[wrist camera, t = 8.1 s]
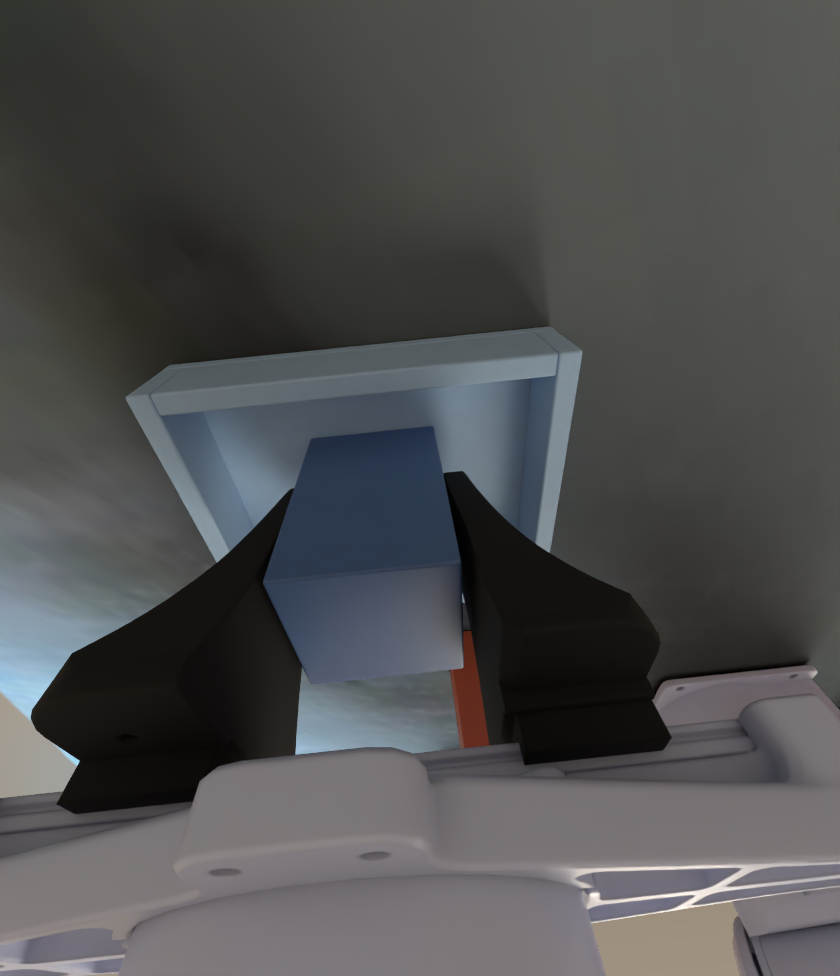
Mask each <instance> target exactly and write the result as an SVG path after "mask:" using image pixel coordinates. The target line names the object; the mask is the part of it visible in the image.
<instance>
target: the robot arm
mask: <svg viewBox="0 0 840 976" xmlns="http://www.w3.org/2000/svg"><path fill="white" fill-rule="evenodd" d="M443 474H444V480H445V485H446V489H447V494H448V499H449V504H450V509H451V514H452V519H453V523H454V528H455V533H456V538H457V543H458V548H459V553H460V558H461V566H462V593H463V597H464V601H465V604H466V608H467V613H468V617H469V622H470V628H471V634H472V640H473V646H474V652H475V658H476V664H477V670H478V676H479V682H480V688H481V695H482V701H483V707H484V714H485V720H486V727H487V734H488V740H489V746H480V747H471V748H461V749H452V750H443V751H434V752H424V753H415V754H412V753H410V752H406V751H403V750H399V749H395V748H392V747H365V748H355V749H346V750H337V751H328V752H318V753H309V754H300V755H295V749H296V731H297V718H298V704H299V692H300V682H301V671H302V664H301V662H300V660H299V658H298V656H297V654H296V652H295V650H294V648H293V646H292V644H291V641H290V639H289V637H288V635H287V633H286V631H285V629H284V627H283V625H282V623H281V621H280V619H279V616H278V614H277V612H276V610H275V608H274V606H273V604H272V602H271V600H270V598H269V596H268V593H267V591H266V589H265V587H264V585H263V580H264V577H265V574H266V571H267V568H268V565H269V562H270V559H271V556H272V553H273V550H274V547H275V544H276V541H277V538H278V535H279V532H280V529H281V526H282V523H283V520H284V517H285V514H286V511H287V508H288V505H289V502H290V499H291V496H292V493H293V490H294V488H292V489H290V490H289V491H288V492H287V493H286V494H285V495H284V496H283V497H282V498H281V499H280V500H279V501H278V502H277V504H276V505H275V506H274V507H273V508H272V509H271V510H270V511H269V512H268V513H267V515H266V516H265V517H264V518H263V519H262V520H261V521H260V522H259V523H258V524H257V525H256V526H255V527H254V528H253V529H252V530H251V531H250V532H249V533H248V534H247V535H246V536H245V537H244V538H243V539H242V540H241V541H240V542H239V543H238V544H237V545H236V546H235V547H234V548H233V549H232V550H231V551H230V552H229V553H227V554H226V555H225V556H224V557H223V558H222V559H221V560H219V561H218V562H217V563H216V564H215V565H213V566H212V567H211V568H210V569H208V570H207V571H206V572H205V573H203V574H202V575H201V576H200V577H198V578H197V579H195V580H194V581H193V582H191V583H190V584H188V585H187V586H186V587H184V588H183V589H181V590H180V591H179V592H177V593H176V594H174V595H173V596H172V597H170V598H169V599H167V600H166V601H164V602H163V603H161V604H159V605H158V606H156V607H155V608H153V609H152V610H150V611H148V612H147V613H145V614H143V615H142V616H140V617H138V618H137V619H135V620H133V621H132V622H130V623H128V624H126V625H125V626H123V627H121V628H119V629H117V630H116V631H114V632H112V633H110V634H108V635H106V636H104V637H102V638H101V639H99V640H97V641H95V642H93V643H91V644H89V645H87V646H85V647H84V648H82V649H80V650H78V651H76V652H74V653H72V654H71V656H70V657H69V659H68V660H67V661H66V663H65V664H64V666H63V667H62V668H61V670H60V671H59V673H58V674H57V676H56V677H55V678H54V680H53V681H52V683H51V684H50V685H49V687H48V688H47V690H46V691H45V692H44V694H43V695H42V697H41V698H40V700H39V701H38V702H37V704H36V705H35V707H34V708H33V709H32V714H31V720H32V722H33V724H34V726H35V728H36V730H37V731H38V732H40V734H42V735H43V736H44V737H45V738H47V739H48V740H50V741H51V742H53V743H54V744H56V745H57V746H59V747H60V748H62V749H63V750H65V751H66V752H68V753H69V754H71V755H72V756H74V757H75V758H77V759H78V760H80V762H79V764H78V766H77V768H76V769H75V771H74V773H73V775H72V777H71V778H70V780H69V782H68V784H67V786H66V788H65V789H64V791H63V792H55V793H46V794H36V795H27V796H18V797H8V798H0V976H83V975H97V974H112V973H119V975H118V976H606V974H605V970H604V966H603V963H602V959H601V956H600V952H599V949H598V945H597V942H596V938H595V935H594V931H593V927H592V924H591V923H596V922H603V921H609V920H615V919H622V918H628V917H634V916H641V915H647V914H653V913H660V912H667V911H673V910H679V909H685V908H692V907H698V906H705V905H711V904H717V903H724V902H731V901H732V903H733V905H734V907H735V909H736V911H737V913H738V915H739V916H738V917H736V918H735V920H734V923H733V933H734V934H733V949H734V956H735V960H736V964H737V967H738V971H739V974H740V976H840V710H839V709H838V708H837V707H836V706H835V705H834V703H833V702H832V701H831V700H830V699H829V698H828V697H827V696H826V695H825V693H824V692H823V691H822V690H821V689H820V688H819V687H818V686H817V684H816V683H815V682H814V681H813V680H812V678H813V677H814V676H815V675H816V674H817V670H816V669H815V668H814V667H813V666H811V665H802V666H793V667H784V668H774V669H765V670H756V671H746V672H737V673H728V674H718V675H709V676H700V677H690V678H681V679H672V680H667V681H664V682H663V683H662V684H661V686H660V687H659V689H658V691H657V693H656V695H655V692H654V690H653V688H652V686H651V684H650V683H649V681H648V679H647V677H646V676H647V674H648V672H649V670H650V668H651V666H652V664H653V662H654V660H655V658H656V656H657V654H658V651H659V648H660V644H661V642H660V637H659V634H658V632H657V631H656V629H655V628H654V626H653V624H652V623H651V621H650V620H649V618H648V617H647V615H646V614H645V612H644V611H643V610H642V608H641V607H640V606H639V605H638V603H637V602H636V601H635V600H634V598H633V597H632V596H631V594H630V593H627V592H625V591H623V590H621V589H618V588H616V587H614V586H611V585H609V584H607V583H605V582H602V581H600V580H598V579H596V578H593V577H591V576H589V575H587V574H586V573H584V572H582V571H580V570H578V569H576V568H574V567H572V566H570V565H569V564H567V563H565V562H563V561H562V560H560V559H558V558H557V557H555V556H554V555H552V554H551V553H549V552H547V551H546V550H544V549H543V548H541V547H540V546H538V545H537V544H535V543H534V542H533V541H531V540H530V539H529V538H527V537H526V536H525V535H524V534H522V533H521V532H520V531H519V530H517V529H516V528H515V527H514V526H513V525H512V524H511V523H510V522H508V521H507V520H506V519H505V518H504V517H503V516H502V515H501V514H500V513H499V512H498V511H497V510H496V509H495V508H494V507H493V506H492V505H491V504H490V503H489V502H488V500H487V499H486V498H485V497H484V496H483V495H482V494H481V493H480V491H479V490H478V489H477V488H476V487H475V485H474V484H473V483H472V481H471V480H470V479H469V477H468V476H467V475H466V473H464V472H463V471H456V472H446V473H443ZM652 699H653V700H652Z"/></svg>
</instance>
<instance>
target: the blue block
mask: <svg viewBox="0 0 840 976" xmlns="http://www.w3.org/2000/svg"><path fill="white" fill-rule="evenodd" d="M263 585H264V587H265V589H266V591H267V593H268V596H269V598H270V600H271V602H272V604H273V606H274V608H275V610H276V612H277V614H278V616H279V619H280V621H281V623H282V625H283V627H284V629H285V631H286V633H287V635H288V637H289V639H290V641H291V644H292V646H293V648H294V650H295V652H296V654H297V656H298V658H299V660H300V662H301V664H302V667H303V669H304V671H305V673H306V675H307V677H308V679H309V681H310V683H311V684H322V683H331V682H340V681H350V680H359V679H368V678H378V677H387V676H397V675H406V674H415V673H425V672H434V671H443V670H453V669H462V668H463V667H464V644H463V605H462V566H461V558H460V553H459V548H458V543H457V538H456V533H455V528H454V523H453V519H452V514H451V509H450V504H449V499H448V494H447V489H446V485H445V480H444V475H443V470H442V465H441V460H440V455H439V450H438V446H437V441H436V436H435V431H434V427H433V426H429V427H419V428H410V429H400V430H390V431H381V432H371V433H361V434H351V435H342V436H332V437H322V438H313V439H311V440H310V443H309V446H308V449H307V452H306V455H305V458H304V461H303V464H302V467H301V470H300V473H299V476H298V479H297V482H296V485H295V488H294V490H293V493H292V496H291V499H290V502H289V505H288V508H287V511H286V514H285V517H284V520H283V523H282V526H281V529H280V532H279V535H278V538H277V541H276V544H275V547H274V550H273V553H272V556H271V559H270V562H269V565H268V568H267V571H266V574H265V577H264V580H263Z"/></svg>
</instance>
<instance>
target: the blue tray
mask: <svg viewBox="0 0 840 976" xmlns="http://www.w3.org/2000/svg"><path fill="white" fill-rule="evenodd" d="M582 353H583V352H582V350H581V349H580V348H578V347H577V346H576V345H574V344H573V343H572V342H570V341H569V340H567V339H566V338H565V337H563V336H562V335H561V334H559V333H558V332H557V331H555V329H553V328H552V327H550V326H549V327H539V328H529V329H519V330H510V331H500V332H490V333H480V334H470V335H460V336H451V337H441V338H431V339H421V340H411V341H401V342H392V343H382V344H372V345H362V346H352V347H342V348H332V349H323V350H313V351H303V352H293V353H283V354H273V355H264V356H254V357H244V358H234V359H224V360H214V361H205V362H195V363H185V364H175V365H169V366H167V367H166V368H165V369H164V370H162V371H161V372H160V373H158V374H157V375H156V376H154V377H153V378H151V379H150V380H149V381H147V382H146V383H144V384H143V385H142V386H140V387H139V388H137V389H136V390H135V391H133V392H132V393H131V394H129V395H128V396H126V400H127V402H128V404H129V406H130V408H131V409H132V411H133V413H134V415H135V417H136V418H137V420H138V422H139V424H140V426H141V427H142V429H143V431H144V433H145V435H146V436H147V438H148V440H149V442H150V444H151V445H152V447H153V449H154V451H155V453H156V454H157V456H158V458H159V460H160V462H161V463H162V465H163V467H164V469H165V470H166V472H167V474H168V476H169V478H170V479H171V481H172V483H173V485H174V487H175V488H176V490H177V492H178V494H179V496H180V497H181V499H182V501H183V503H184V505H185V506H186V508H187V510H188V512H189V514H190V515H191V517H192V519H193V521H194V523H195V524H196V526H197V528H198V530H199V532H200V533H201V535H202V537H203V539H204V541H205V542H206V544H207V546H208V548H209V550H210V551H211V553H212V555H213V557H214V559H215V560H216V562H218V561H219V560H221V559H222V558H223V557H224V556H225V555H226V554H227V553H229V552H230V551H231V550H232V549H233V548H234V547H235V546H236V545H237V544H238V543H239V542H240V541H241V540H242V539H243V538H244V537H245V536H246V535H247V534H248V533H249V532H250V531H251V530H252V529H253V528H254V527H255V526H256V525H257V524H258V523H259V522H260V521H261V520H262V519H263V518H264V517H265V516H266V515H267V513H268V512H269V511H270V510H271V509H272V508H273V507H274V506H275V505H276V504H277V502H278V501H279V500H280V499H281V498H282V497H283V496H284V495H285V494H286V493H287V492H288V491H289V490H290V489H292V488H295V485H296V482H297V479H298V476H299V473H300V470H301V467H302V464H303V461H304V458H305V455H306V452H307V449H308V446H309V443H310V440H311V439H313V438H322V437H332V436H342V435H351V434H361V433H371V432H381V431H390V430H400V429H410V428H419V427H429V426H433V427H434V431H435V436H436V441H437V446H438V450H439V455H440V460H441V465H442V470H443V473H446V472H456V471H463V472H464V473H466V475H467V476H468V477H469V479H470V480H471V481H472V483H473V484H474V485H475V487H476V488H477V489H478V490H479V491H480V493H481V494H482V495H483V496H484V497H485V498H486V499H487V500H488V502H489V503H490V504H491V505H492V506H493V507H494V508H495V509H496V510H497V511H498V512H499V513H500V514H501V515H502V516H503V517H504V518H505V519H506V520H507V521H508V522H510V523H511V524H512V525H513V526H514V527H515V528H516V529H517V530H519V531H520V532H521V533H522V534H524V535H525V536H526V537H527V538H529V539H530V540H531V541H533V542H534V543H535V544H537V545H538V546H540V547H541V548H543V549H544V550H546V551H547V552H549V553H550V550H551V543H552V537H553V531H554V525H555V519H556V513H557V507H558V500H559V494H560V488H561V482H562V476H563V470H564V464H565V458H566V451H567V445H568V439H569V433H570V427H571V421H572V415H573V408H574V402H575V396H576V390H577V384H578V378H579V372H580V365H581V359H582ZM443 475H444V474H443ZM463 602H465V601H464V597H463V593H462V603H463Z"/></svg>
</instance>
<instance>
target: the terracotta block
mask: <svg viewBox="0 0 840 976" xmlns="http://www.w3.org/2000/svg"><path fill="white" fill-rule="evenodd" d="M463 644H464V667H463V668H462V669H453V670H450V673H451V681H452V689H453V696H454V704H455V711H456V719H457V726H458V734H459V741H460V749H461V748H471V747H480V746H489V740H488V734H487V727H486V720H485V714H484V707H483V701H482V695H481V688H480V682H479V676H478V670H477V664H476V658H475V652H474V646H473V640H472V634H471V631H463Z"/></svg>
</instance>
